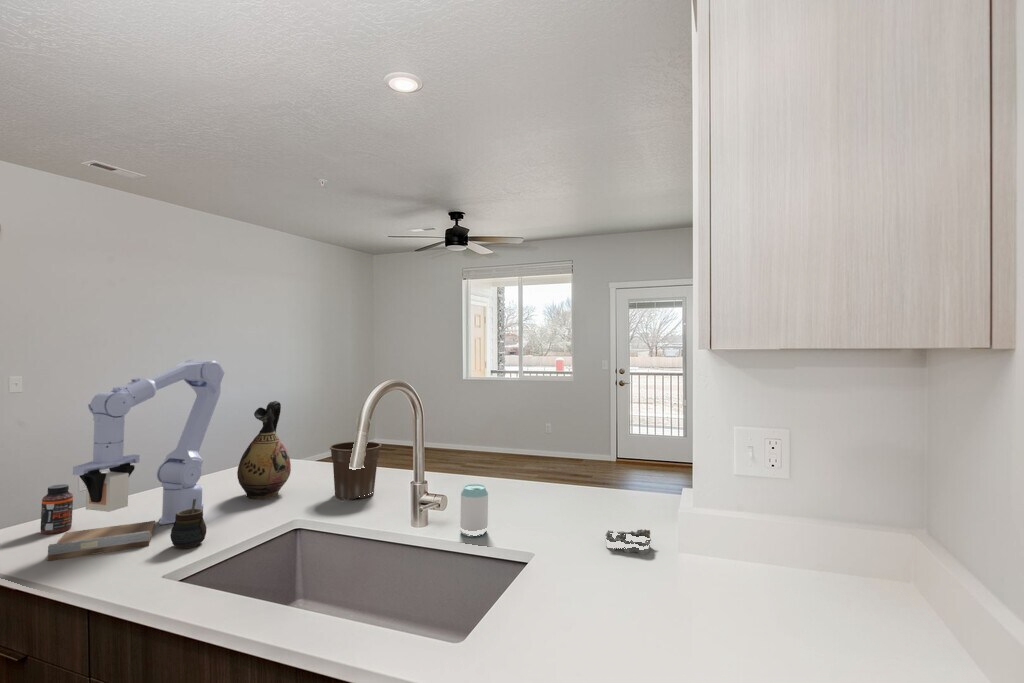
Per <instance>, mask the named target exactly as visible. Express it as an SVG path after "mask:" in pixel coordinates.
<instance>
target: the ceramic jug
mask: <svg viewBox="0 0 1024 683" xmlns="http://www.w3.org/2000/svg"><path fill="white" fill-rule="evenodd" d="M281 405H282V404H281V403H280V402H279V401H277V400H274V401H270V402H268V404H267V405H266V409H265V408H263V407H261V406H260V407H258V408H257V409H256V410H255V411H254V413H253V414H254V418H255V419H256V420H259V421H260V422H262V427H261V429H260V430H259V432H258V434H257V435H256V436H255V437H254V438H253V440H252V441H251V442H250V443H249V445H248V446H247V448H246V449H245V451H244V452H243V454H242V456H241V458H240V460H239V464H238V465H237V466H238V467H237V471H236V472H237V473H236V474H237V480H238V483H239V485H240V486H241V489H243V490H244V492H245V494H246V495H245V497H246V498H248V499H249V500H257V499H259V500H262V499H263V500H264V499H270V498H273V497H275V496H277V495H278V494H279V492H280V490H281V489H282V487H283V486H284V485H285V484H286V483H287V481H288V480H289V478H290V476H291V471H292V469H291V468H292V466H291V459H290V455H289V451H288V450H287V448H286V447H285V445H284V443H283V442H282V440H281V439H280V437H279V436H278V434H277V427H278V424H279V420H280V415H281V408H282V407H281Z"/></svg>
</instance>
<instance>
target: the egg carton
mask: <svg viewBox="0 0 1024 683" xmlns="http://www.w3.org/2000/svg"><path fill="white" fill-rule="evenodd" d="M616 532H617V533H618V534H620V535H617V536H616V538H615V539H614V538H613V537H612V534H610V533H614V531H613V530H607V531H606V533H605V540H606V539H607V540H609V541H610V542H616V541H621V542H624V543H625V544H630V543H631V544H634V543H635V544H638V545H639V546H643V547H644V546H646V545H647V546H648V545H649V544H650V545H649V549H644V550H639V548H636V547H632V548H627V549H626V548H625V547H624V548H625V549H624V548H622V549H621V548H620V549H621V550H620V551H623V552H624V553H629V554H630V553H632V552H635V553H638V554H639V555H645V554H650V549H651V543H650V541H651V542H652V539H651V530H650V529H637V530H636V531H633V530H631V531H616ZM624 534H625V535H624ZM626 534H631V535H632V536H636V537H639V536H645V537H647V538H650V540H646V541H645V543H642V542H633V541H632V540H631V541H630V542H629V541H626V540H625V539H626ZM647 541H648V542H647ZM608 549H609V550H610V551H612V552H613V551H618V549H619V548H618V549H617V548H616V549H617V550H616V549H615V548H614V549H613V548H608Z"/></svg>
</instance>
